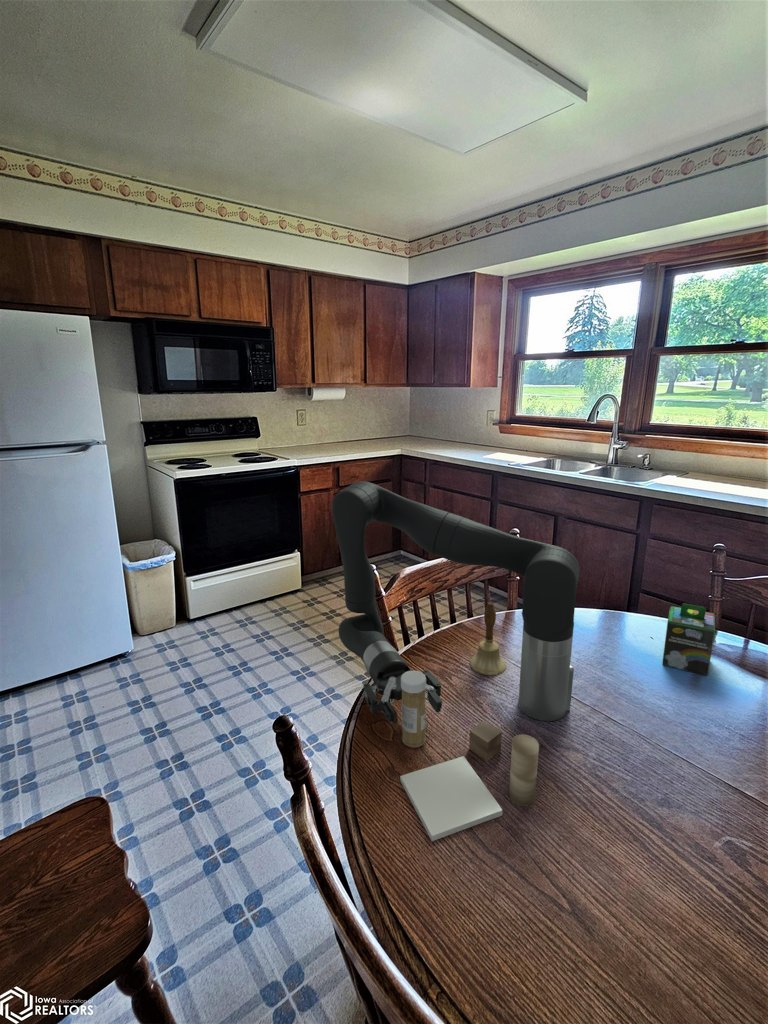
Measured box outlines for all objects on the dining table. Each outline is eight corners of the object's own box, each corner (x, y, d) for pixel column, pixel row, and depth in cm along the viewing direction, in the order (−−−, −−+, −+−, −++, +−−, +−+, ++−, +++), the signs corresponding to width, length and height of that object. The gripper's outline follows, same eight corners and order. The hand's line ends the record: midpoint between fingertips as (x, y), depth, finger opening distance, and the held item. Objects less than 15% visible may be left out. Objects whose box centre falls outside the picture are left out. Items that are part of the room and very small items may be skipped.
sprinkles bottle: (430, 742, 92) (431, 678, 88) (411, 752, 89) (410, 687, 86) (416, 728, 95) (415, 666, 92) (396, 737, 93) (395, 674, 89)
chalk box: (708, 657, 117) (718, 600, 113) (708, 677, 109) (719, 616, 105) (663, 647, 121) (672, 591, 118) (660, 665, 114) (669, 606, 110)
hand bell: (511, 673, 112) (515, 609, 108) (476, 677, 111) (479, 612, 107) (498, 654, 120) (501, 593, 116) (465, 657, 119) (466, 596, 114)
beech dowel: (524, 782, 82) (528, 731, 79) (540, 801, 78) (544, 748, 76) (504, 789, 81) (507, 738, 78) (518, 809, 77) (522, 755, 74)
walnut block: (483, 738, 92) (484, 720, 91) (500, 750, 89) (501, 731, 88) (469, 749, 90) (469, 730, 89) (486, 761, 87) (487, 742, 86)
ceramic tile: (463, 760, 87) (463, 756, 87) (502, 815, 76) (502, 810, 76) (400, 780, 83) (400, 775, 83) (431, 841, 72) (431, 835, 72)
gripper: (352, 657, 100) (380, 705, 85) (416, 643, 105) (453, 686, 90) (353, 689, 102) (380, 742, 87) (416, 674, 107) (452, 721, 92)
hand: (417, 713), depth 89 cm, fingers open, 8 cm apart
